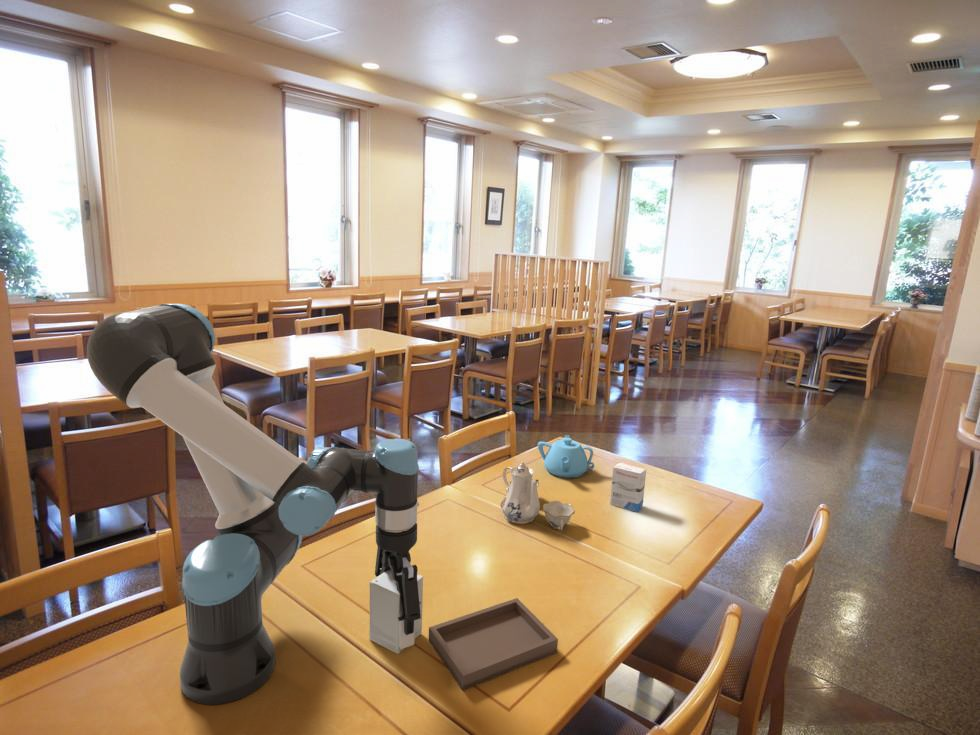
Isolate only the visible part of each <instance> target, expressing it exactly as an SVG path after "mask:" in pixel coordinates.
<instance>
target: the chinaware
mask: <svg viewBox="0 0 980 735" xmlns="http://www.w3.org/2000/svg"><path fill="white" fill-rule="evenodd" d="M508 470H509V471H510V476H511V479H510V480H511V481H509V482H508V479H507V471H508ZM534 474H535V471H534V469H532V468H529V467H528V466H527V465H526V464H525V462H524V461H521V463H519V465H517V466H514V467H511V466H507V467H505V468H504V469H503V471H502V479H503V482H504V484H505V486H506V488H505V492H506V493H507V494H506V495H505V497H504V498H503V500H502V501H501V502H500V505H499V507H500V508H501V511H502V513H503V514H504V516H503V517H504V518H505V520H506V521H508V522H510V523H513V524H516V525H526V524H530V523H532V522H533V521H535V519H536V517H537V516H539V515H540V511H541V507H540V505H541V504H540V503H541V502H540V498H539V493H538V487H539V486H540V485H539V484H540V482H539V481H540V480H539V479H533V475H534ZM542 510H543V512H544V516H545V518H546V520H547V522H548V523H549V524H550V527H552V528H553V529H554V530H557V529H558V530H559V531H563V528H564V526H566V525H567V524H568V523H569V522H570V520H571V518H572V515H575V510H574V507H573V505H572V504H571V503H567V502H566V503H563V502H561V501H560V500H559V501H558V500H552V501H551V502H549V503H545V502H544V504H542Z"/></svg>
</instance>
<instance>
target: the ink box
mask: <svg viewBox="0 0 980 735" xmlns="http://www.w3.org/2000/svg"><path fill="white" fill-rule="evenodd" d="M611 476H612V478H611V486H610V488H611V489H610V499H609V500H610V501H609V505H611V506H614V507H619V508H622V509H625V510H629V511H633V512H636V513H638V512H639V511H640V510H641V509H642V508H643V506H644V497H645V496H644V495H645V488H646V478H647V477H646V476H647V469H646V468H643V467H638V466H633V465H630V464H626V463H623V462H618V463H617V464H616V465H614V466H613V468H612V475H611Z"/></svg>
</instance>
